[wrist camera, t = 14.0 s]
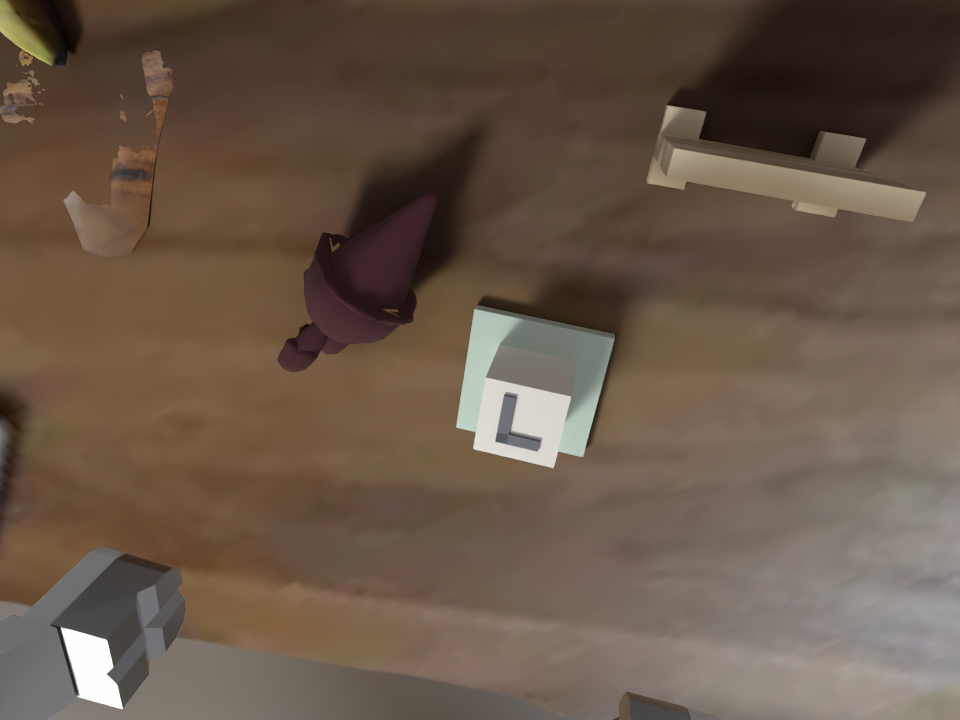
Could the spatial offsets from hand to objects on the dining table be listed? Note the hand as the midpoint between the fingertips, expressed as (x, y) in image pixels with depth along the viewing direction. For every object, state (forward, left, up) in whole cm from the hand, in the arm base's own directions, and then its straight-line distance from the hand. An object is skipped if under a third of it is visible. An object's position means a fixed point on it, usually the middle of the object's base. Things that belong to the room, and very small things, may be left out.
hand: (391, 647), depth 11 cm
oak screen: (-7, +10, -30) cm, 32 cm away
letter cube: (+9, +1, -29) cm, 30 cm away
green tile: (+9, +1, -30) cm, 31 cm away
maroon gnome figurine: (+4, -10, -30) cm, 32 cm away
